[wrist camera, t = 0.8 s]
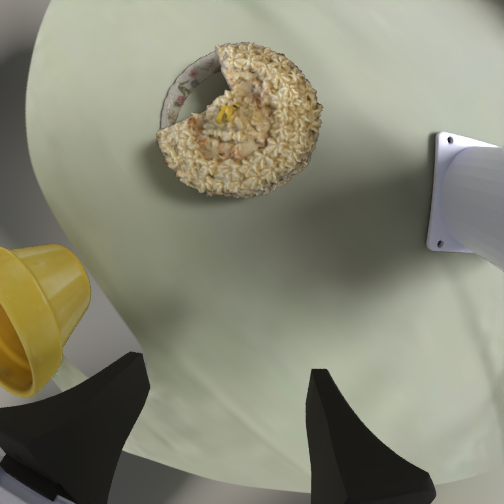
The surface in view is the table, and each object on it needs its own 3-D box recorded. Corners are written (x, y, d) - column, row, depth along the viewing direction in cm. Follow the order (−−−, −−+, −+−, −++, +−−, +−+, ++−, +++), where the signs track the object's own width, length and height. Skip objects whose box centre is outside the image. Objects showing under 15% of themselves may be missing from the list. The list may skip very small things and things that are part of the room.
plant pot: (10, 253, 22) (-63, 292, 13) (66, 196, 20) (-32, 229, 10) (64, 343, 24) (6, 404, 15) (132, 311, 22) (65, 392, 13)
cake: (346, 96, 17) (376, 82, 12) (270, 226, 20) (273, 257, 15) (208, 27, 15) (190, -7, 10) (138, 158, 18) (98, 167, 13)
